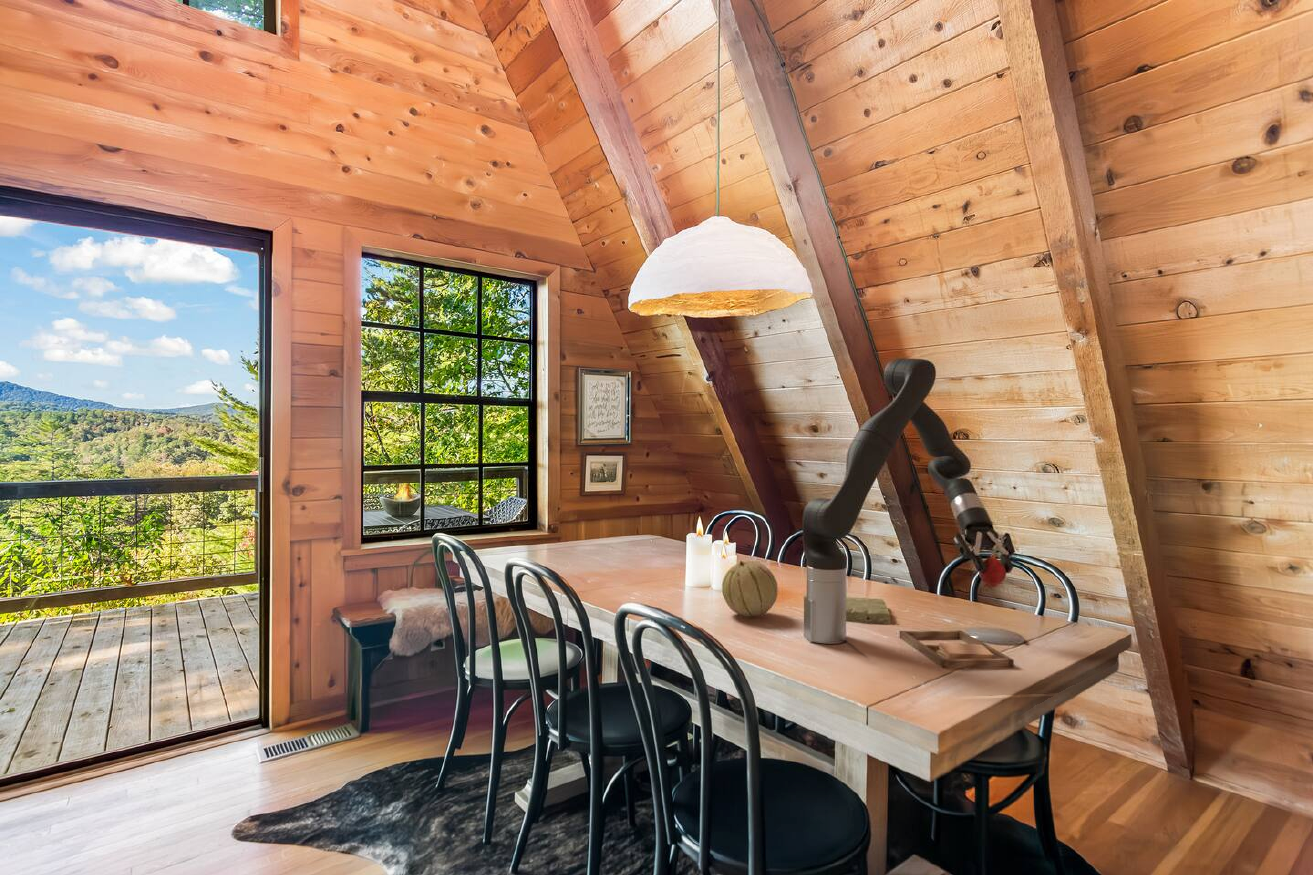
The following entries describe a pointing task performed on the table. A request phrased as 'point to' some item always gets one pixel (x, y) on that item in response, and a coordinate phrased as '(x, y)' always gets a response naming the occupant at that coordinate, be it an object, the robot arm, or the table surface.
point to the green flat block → (867, 610)
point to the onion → (993, 571)
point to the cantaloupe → (749, 588)
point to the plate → (995, 635)
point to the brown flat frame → (931, 653)
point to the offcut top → (965, 651)
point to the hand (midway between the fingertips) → (996, 571)
